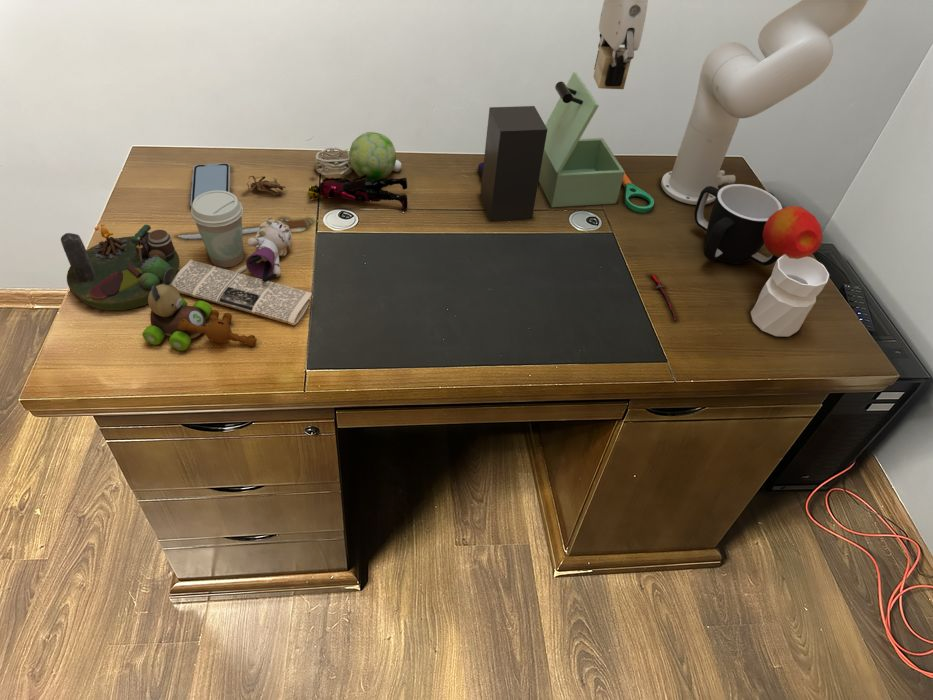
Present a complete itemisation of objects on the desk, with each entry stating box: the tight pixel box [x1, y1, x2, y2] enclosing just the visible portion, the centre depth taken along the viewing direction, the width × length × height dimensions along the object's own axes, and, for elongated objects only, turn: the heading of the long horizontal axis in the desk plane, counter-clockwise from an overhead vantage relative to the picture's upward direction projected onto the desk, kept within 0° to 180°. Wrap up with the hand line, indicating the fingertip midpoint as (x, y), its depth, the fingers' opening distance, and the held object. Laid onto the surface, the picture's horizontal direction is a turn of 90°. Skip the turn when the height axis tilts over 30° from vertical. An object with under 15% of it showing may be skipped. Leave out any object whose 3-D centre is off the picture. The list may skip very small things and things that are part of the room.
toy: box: [234, 216, 293, 282], centre depth 124 cm, size 8×10×15 cm
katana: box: [650, 273, 677, 322], centre depth 127 cm, size 13×2×1 cm, turn 7°
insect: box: [244, 175, 287, 196], centre depth 140 cm, size 4×8×5 cm
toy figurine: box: [178, 309, 258, 347], centre depth 111 cm, size 12×4×7 cm
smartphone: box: [190, 162, 231, 208], centre depth 140 cm, size 7×1×15 cm
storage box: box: [538, 137, 626, 208], centre depth 148 cm, size 15×14×8 cm
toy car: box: [141, 268, 213, 352], centre depth 109 cm, size 9×9×11 cm
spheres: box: [392, 159, 403, 173], centre depth 153 cm, size 15×2×2 cm
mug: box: [693, 183, 783, 266], centre depth 134 cm, size 16×16×12 cm
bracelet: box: [314, 146, 354, 177], centre depth 147 cm, size 4×8×8 cm
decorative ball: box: [348, 131, 397, 181], centre depth 144 cm, size 10×10×10 cm
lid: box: [544, 71, 600, 174], centre depth 138 cm, size 15×14×5 cm
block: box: [592, 46, 632, 90], centre depth 132 cm, size 5×5×6 cm
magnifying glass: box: [621, 172, 655, 214], centre depth 151 cm, size 15×6×2 cm, turn 14°
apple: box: [763, 205, 824, 259], centre depth 121 cm, size 9×9×12 cm
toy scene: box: [60, 222, 180, 311], centre depth 116 cm, size 18×18×11 cm
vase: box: [750, 254, 830, 338], centre depth 121 cm, size 9×9×12 cm
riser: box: [479, 105, 548, 222], centre depth 137 cm, size 9×9×20 cm
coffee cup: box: [190, 190, 245, 268], centre depth 122 cm, size 8×8×12 cm
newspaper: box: [170, 259, 313, 326], centre depth 119 cm, size 24×7×2 cm, turn 73°
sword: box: [176, 218, 313, 241], centre depth 132 cm, size 25×1×5 cm
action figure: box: [303, 174, 409, 211], centre depth 140 cm, size 15×6×20 cm
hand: (607, 77), depth 133 cm, fingers closed on block, 5 cm apart
